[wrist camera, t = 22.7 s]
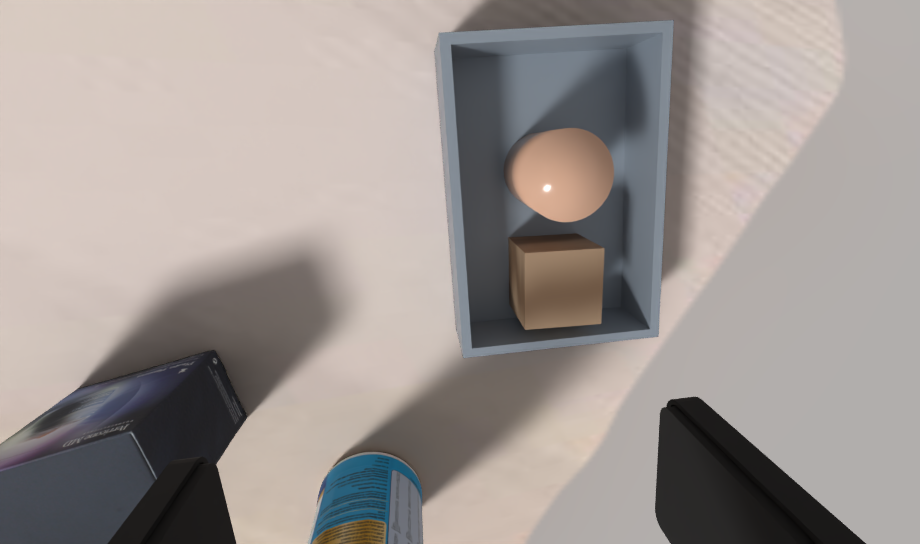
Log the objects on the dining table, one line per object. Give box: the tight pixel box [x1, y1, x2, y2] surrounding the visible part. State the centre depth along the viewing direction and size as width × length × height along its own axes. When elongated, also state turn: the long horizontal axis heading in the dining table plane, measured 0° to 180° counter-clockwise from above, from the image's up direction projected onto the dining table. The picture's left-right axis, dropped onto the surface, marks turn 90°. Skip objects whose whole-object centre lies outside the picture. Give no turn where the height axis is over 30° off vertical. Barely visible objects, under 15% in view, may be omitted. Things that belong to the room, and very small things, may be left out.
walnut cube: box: [508, 233, 605, 330], centre depth 32 cm, size 5×5×5 cm
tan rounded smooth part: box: [504, 128, 614, 222], centre depth 29 cm, size 5×5×7 cm
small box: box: [0, 350, 247, 544], centre depth 29 cm, size 11×6×10 cm, turn 106°
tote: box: [434, 20, 674, 358], centre depth 31 cm, size 19×13×5 cm
